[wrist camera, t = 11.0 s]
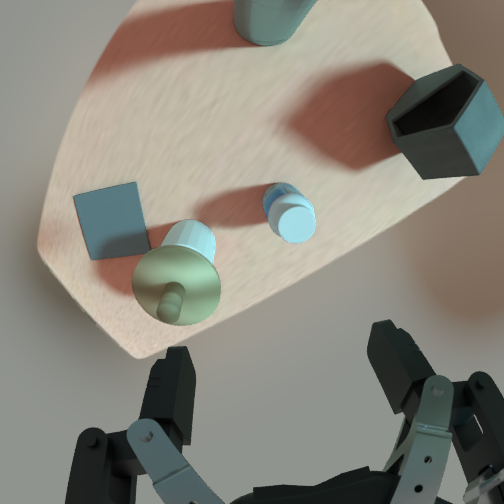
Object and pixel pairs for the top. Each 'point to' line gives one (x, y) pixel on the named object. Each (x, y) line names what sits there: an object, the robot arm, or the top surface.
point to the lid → (176, 285)
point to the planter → (447, 124)
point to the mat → (113, 222)
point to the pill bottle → (289, 213)
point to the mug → (192, 237)
